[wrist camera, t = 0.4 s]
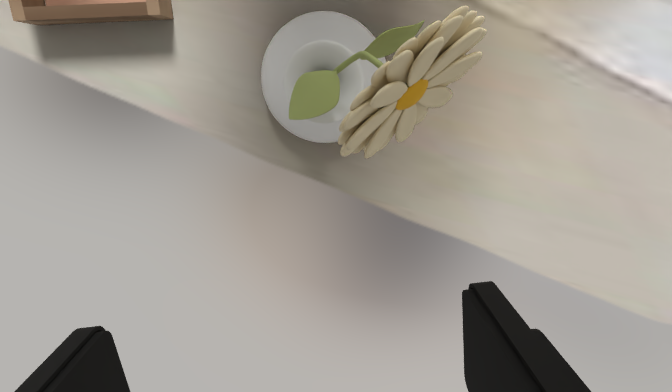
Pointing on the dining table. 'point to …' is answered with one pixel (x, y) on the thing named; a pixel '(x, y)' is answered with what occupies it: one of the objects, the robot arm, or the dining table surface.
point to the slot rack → (88, 11)
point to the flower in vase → (364, 76)
